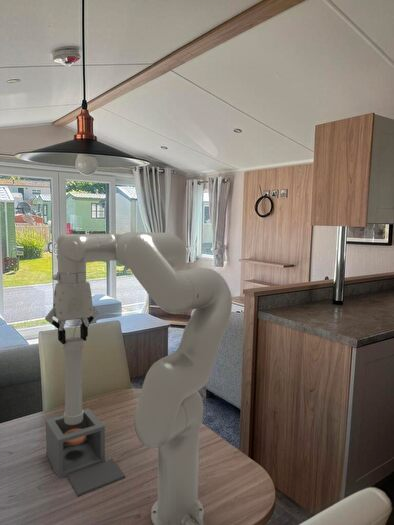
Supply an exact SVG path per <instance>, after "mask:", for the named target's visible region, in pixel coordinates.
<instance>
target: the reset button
mask: <svg viewBox="0 0 394 525" xmlns="http://www.w3.org/2000/svg"><path fill="white" fill-rule="evenodd" d="M78 430H81V429H79V428H77V429H71V430H69V431H67V432H65V433H64V434H68V433H71V432H74V431H78ZM85 440H86V436H82V437H79V438H76V439H73V440H70V441H66V442H64V443H65V444H66V445H71V446H78V445H79V444H81V443H83V442H84V441H85Z"/></svg>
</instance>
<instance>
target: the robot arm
mask: <svg viewBox="0 0 394 525" xmlns="http://www.w3.org/2000/svg"><path fill="white" fill-rule="evenodd" d="M56 242H57V243H56V244H57V271H56V274H54V275H53V274H52V280H53V281H57V282H56V283H55V287H54V291H53V292H54V293H53V300H52V301H53V302H52V307H51V308H52V309H51V310H50V311H49V313H47V314H46V316H45V317H44V320H45V321H46V322H48V323H50V324H51V325H52V326H54V327H55V328H57V340H58V342H60V343H61V345H64V344H65V343H66V339H67V338H66V335H67V334H66V330H65V325H66V321H72V320H80V319H81V320H80V322H81V324H80V326H79V327H80V328H79V329H80V330H79V332H80V334H79V335H80V337H79V338H82V339H83V342H85V341H87V337H88V336H89V328H88V327H89V326H90V324H91V323H92V322H93V320H94V319H95V318H96V317H97V316H98V315H99V313H100V312H99V311H98V310H97V309H96V307H95V306H94V305H93V304H94V303H93V295H92V288H91V284H90V281H87V264H88V263H96V262H106V261H107V262H109V261H110V262H111V261H112V262H114V261H117V262H119V263H120V264H121V265H122V266H124V267H125V268H126V267H127V268H129V270H130V272H131V273H132V275H133V276H134V277H135V278H136V280H137V281H138V283H139V284H140V285H141V286H142V287H143V290H145V291H146V293H147V295H149V297H150V298H151V299H152V301H153V302H154V304H156V305H157V306H158V308H160V309H161V310H163V311H164V312H165V313H168V314H174V315H178V314H183V313H185V312H188V311H192V310H194V311H193V314H192V315H191V316H190V318H189V320H188V321H187V323H186V324H185V326H184V329H183V334H182V337H181V339H180V343H179V345H178V347H177V348H176V350H175V351H174V352H172V353H171V354H168V355H166V356H164V357H161V358H160V359H158V360H157V361H155V362H153V364H152V365H151V366H150V367H149V369H148V371H147V372H146V375H145V378H144V379H143V380H144V381H143V384H142V387H141V391H140V394H139V397H138V401H137V405H136V407H135V408H136V409H135V412H134V418H133V422H134V423H133V424H134V425H133V426H134V431H135V432H134V433H135V435H136V437H137V439H138V440H139V441H140V442H141V444H143V445H144V446H145V447H148V448H152V449H158V450H157V451H158V452H157V500H156V501H155V502H154V504H153V505H152V507H151V509H150V510H151V511H150V520H151V522H152V524H153V525H205V521H204V518H205V517H204V516H205V510H204V506H203V504H202V502H201V501H200V500H199V498H198V497H199V493H198V492H199V452H200V450H199V449H200V434H201V427H202V423H203V417H204V401H203V398H202V396H201V393H199V390H201V389H202V388H204V387H205V385H206V384H208V382H209V380H210V377H211V375H212V372H213V368H214V365H215V362H216V359H217V356H218V354H219V351H220V347H221V343H222V340H223V338H224V335H225V332H226V329H227V326H229V325H228V324H229V321H230V318H231V314H232V308H233V307H232V306H233V301H232V300H233V299H232V298H233V297H232V293H231V289H230V287H229V285H228V283H227V281H226V279H225V278H224V276H222V275H221V274H220V273H219V272H217V271H216V270H213V269H211V268H208V267H195V268H188V269H183V270H177V271H176V269H175V268H176V267H177V266H178V265H180V264H181V262H182V261H183V259H184V257H185V253H186V248H185V245H184V242H183V240H182V239H181V238H180V237H178V236H177V235H175V234H173V233H169V232H134V231H133V232H132V231H131V232H128V231H127V232H125V233H87V234H86V233H83V234H79V233H63V234H59V235H58V237H57V241H56ZM54 317H55V319H57V320H55V319H54Z"/></svg>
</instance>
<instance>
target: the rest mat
mask: <svg viewBox="0 0 394 525" xmlns="http://www.w3.org/2000/svg"><path fill="white" fill-rule="evenodd" d="M66 477H67V478H66V479H68V481H69V483H70V486H72V488H73V491H74V492H75V494H76V495H77V497H80V496H83V495H85V494H87V493H88V494H89V493H90V492H93V491H95V490H98V489H101V488H104V487H105V486H108V485H110V484H113V483H115V482H118V481H119V480H122V479H125V478H126V474H125V473H124V472H123V471H122V470H121V468H120V467H119V465H117V463H116V462H115V461H114V459H113V458H111V459H107V460H105V462H102V463H99V464H96V465H94V466H91V467H88V468H85V469H82V470H80V471H77V472H74V473H71V474H69V475H67V476H66Z"/></svg>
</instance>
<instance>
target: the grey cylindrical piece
mask: <svg viewBox="0 0 394 525" xmlns="http://www.w3.org/2000/svg"><path fill="white" fill-rule="evenodd" d="M80 322H81V319H78V322H77V323H76V326H75V328H74V330H73V334H72V336H71V337H67V338H66V343H65V344H63V346H62V349H63V351H64V412H63V415H64V422H65V423H66V424H68V425H76V424H79V423H81V422H82V420H83V414H84V411H83V349H84V340H83V339H82V338H80V337H78V336H75V332H76V329H77V326H78V324H79V323H80Z"/></svg>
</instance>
